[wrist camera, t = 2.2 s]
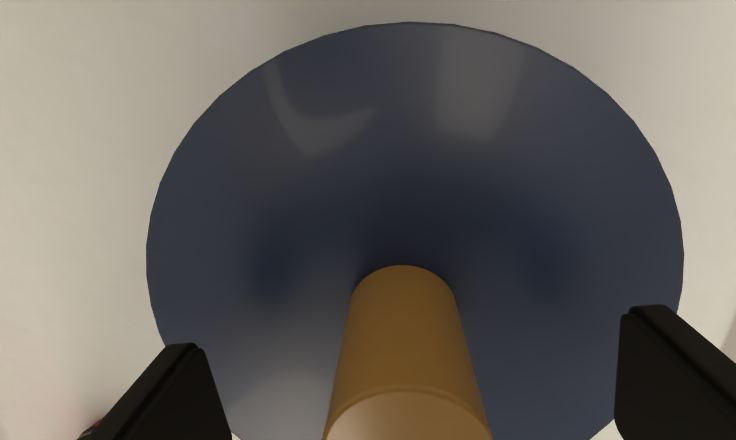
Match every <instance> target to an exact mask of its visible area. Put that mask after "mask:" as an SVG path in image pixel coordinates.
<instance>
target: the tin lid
mask: <svg viewBox="0 0 736 440" xmlns="http://www.w3.org/2000/svg"><path fill="white" fill-rule="evenodd" d="M683 266H684V249H683V239H682V230H681V221H680V217H679V213H678V210H677V206H676V202H675V199H674V195H673V191H672V188H671V185H670V183H669V181H668V179H667V177H666V174H665V172H664V170H663V168H662V166H661V164H660V162H659V159H658V157H657V155H656V153H655V151H654V150H653V148H652V147H651V146H650V144H649V143H648V141H647V140H646V138H645V137H644V135H643V134H642V132H641V131H640V129H639V128H638V126H637V125H636V124H635V122H634V121H633V120H632V119H631V118H630V117H629V116H628V114H627V113H626V112H625V111H624V110H623V109H622V108H621V107H620V106H619V105H618V104H617V103H616V102H615V101H614V100H613V99H612V98H611V97H610V96H609V94H608V93H607V92H605V91H604V90H603V89H601V88H600V87H599V86H597V85H596V84H595V83H594V82H592V81H591V80H590V79H588V78H587V77H586V76H584V75H583V74H582V73H580V72H579V71H578V70H576V69H575V68H574V67H572V66H570V65H568V64H566V63H565V62H563V61H561V60H559V59H557V58H555V57H554V56H552V55H550V54H548V53H546V52H544V51H543V50H541V49H539V48H537V47H534V46H532V45H529V44H526V43H523V42H520V41H518V40H515V39H512V38H509V37H507V36H504V35H501V34H498V33H495V32H490V31H485V30H480V29H475V28H470V27H465V26H460V25H456V24H444V23H425V22H399V23H388V24H377V25H366V26H361V27H357V28H353V29H349V30H345V31H341V32H336V33H332V34H328V35H324V36H321V37H319V38H316V39H314V40H311V41H309V42H306V43H304V44H301V45H299V46H296V47H294V48H291V49H289V50H286V51H284V52H282V53H281V54H279V55H277V56H275V57H274V58H272V59H270V60H268V61H267V62H265V63H263V64H262V65H260V66H258V67H256V68H255V69H253V70H251V71H250V72H248V73H247V74H246V75H245V76H243V77H242V78H241V79H240V80H238V81H237V82H236V83H235V84H233V85H232V86H231V87H230V88H228V89H227V90H226V91H225V92H223V93H222V94H221V95H220V96H219V97H218V98H217V99H216V100H215V101H214V102H213V103H212V104H211V105H210V106H209V108H208V109H207V110H206V111H205V112H204V113H203V114H202V115H201V116H200V117H199V118H198V119H197V120H196V122H195V123H194V124H193V126H192V127H191V129H190V130H189V131H188V133H187V134H186V136H185V137H184V139H183V140H182V142H181V143H180V145H179V146H178V148H177V149H176V151H175V152H174V154H173V157H172V159H171V161H170V163H169V165H168V167H167V169H166V171H165V173H164V176H163V178H162V180H161V182H160V185H159V188H158V191H157V195H156V198H155V201H154V205H153V208H152V212H151V215H150V222H149V230H148V237H147V244H146V274H147V282H148V289H149V295H150V302H151V307H152V310H153V314H154V317H155V320H156V324H157V327H158V330H159V333H160V336H161V338H162V340H163V342H164V345H165V347H166V346H167V345H170V344H179V343H191V342H192V343H195V344H196V345H197V346H198V348H202V349H203V350H204V352H205V354H206V357H207V360H208V363H209V366H210V369H211V372H212V375H213V378H214V382H215V385H216V388H217V391H218V394H219V397H220V400H221V403H222V406H223V409H224V412H225V416H226V419H227V422H228V425H229V428H230V431H231V432H232V433H233V434H235V435H236V436H237V437H238V438H240V439H241V440H590V439H591V438H592V437H593V436H595V435H596V434H597V433H598V432H599V431H601V430H602V429H603V428H604V427H605V426H607V425H608V424H609V423H610V422H611V421H612V420H613V419H614V402H615V388H616V374H617V360H618V346H619V332H620V320H621V316H622V315H623V314H628V311H629V309H630V308H631V307H633V306H642V305H654V304H664V305H666V306H667V307H669V308H670V309H671V310H672V311H673V312H675V313H676V314H677V310H678V305H679V301H680V296H681V291H682V284H683Z"/></svg>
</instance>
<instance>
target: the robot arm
mask: <svg viewBox="0 0 736 440" xmlns="http://www.w3.org/2000/svg"><path fill="white" fill-rule="evenodd" d="M614 419H615V423H616V426H617V429H618V431H619V433H620V435H621V436H622V438H623V439H624V440H736V363H734V362H733V361H732V360H731V359H729V358H728V357H727V356H726V355H725V354H724V353H722V352H721V351H720V350H719V349H718V348H716V347H715V346H714V345H713V344H712V343H710V342H709V341H708V340H707V339H706V338H704V337H703V336H702V335H701V334H700V333H699V332H697V331H696V330H695V329H694V328H693V327H691V326H690V325H689V324H688V323H687V322H685V321H684V320H683V319H682V318H681V317H679V316H678V315H677V314H676V313H675V312H673V311H672V310H671V309H670V308H669V307H667V306H666V305H664V304H654V305H642V306H633V307H631V308H630V309H629V311H628V314H623V315H622V316H621V320H620V332H619V346H618V360H617V374H616V388H615V402H614ZM85 440H232V435H231V431H230V428H229V425H228V422H227V419H226V416H225V412H224V409H223V406H222V403H221V400H220V397H219V394H218V391H217V388H216V385H215V382H214V378H213V375H212V372H211V369H210V366H209V363H208V360H207V357H206V354H205V352H204V350H203V349H202V348H198V346H197V345H196V344H195V343H192V342H191V343H179V344H170V345H167V346H166V347H165V348H164V349H163V350H162V351H161V352H160V353H159V355H158V356H157V357H156V358H155V359H154V360H153V362H152V363H151V364H150V365H149V366H148V367H147V368H146V370H145V371H144V372H143V373H142V374H141V375H140V377H139V378H138V379H137V380H136V381H135V382H134V383H133V385H132V386H131V387H130V388H129V389H128V390H127V392H126V393H125V394H124V395H123V396H122V397H121V398H120V400H119V401H118V402H117V403H116V404H115V405H114V407H113V408H112V409H111V410H110V411H109V412H108V413H107V415H106V416H105V417H104V418H103V419H102V420H101V422H100V423H99V424H98V425H97V426H96V427H95V428H94V430H93V431H92V432H91V433H90V434H89V435H88V437H87V438H86V439H85Z"/></svg>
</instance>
